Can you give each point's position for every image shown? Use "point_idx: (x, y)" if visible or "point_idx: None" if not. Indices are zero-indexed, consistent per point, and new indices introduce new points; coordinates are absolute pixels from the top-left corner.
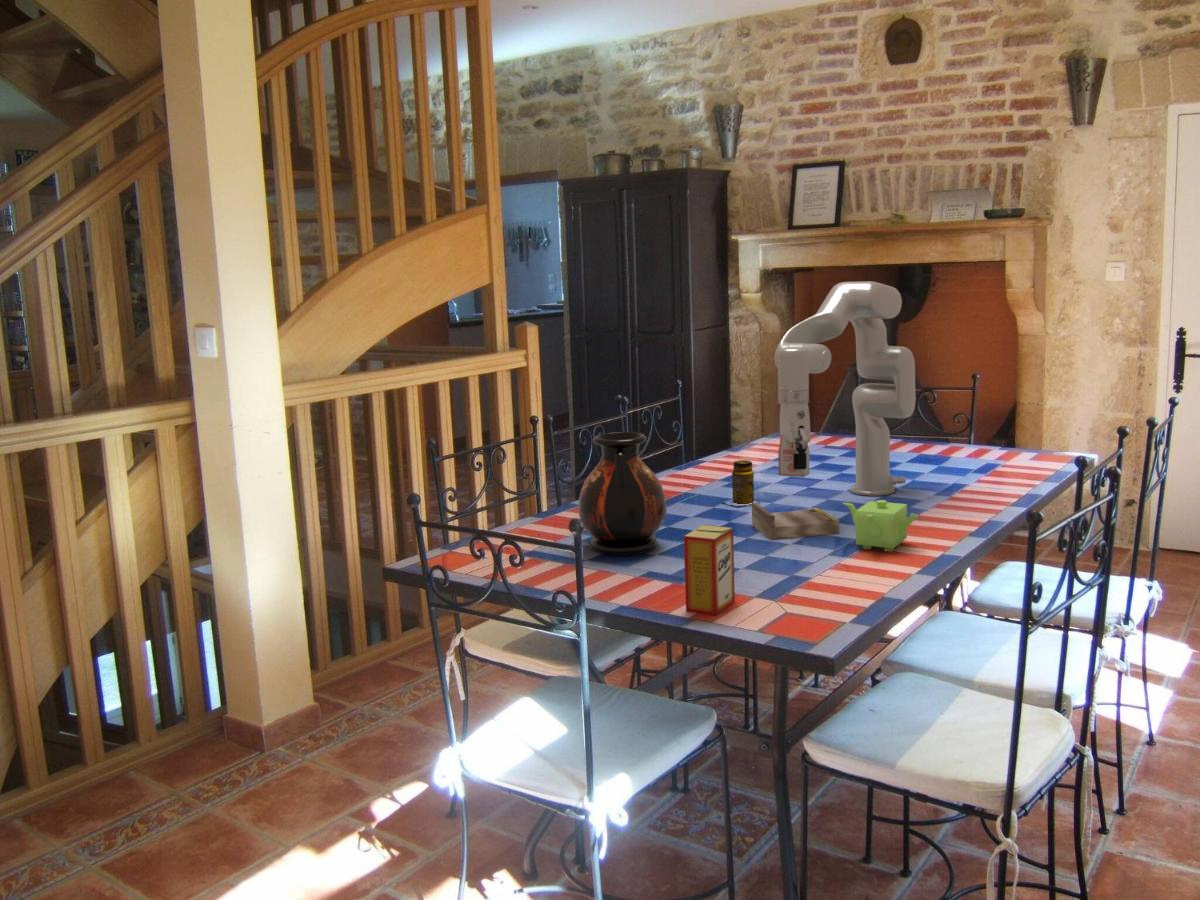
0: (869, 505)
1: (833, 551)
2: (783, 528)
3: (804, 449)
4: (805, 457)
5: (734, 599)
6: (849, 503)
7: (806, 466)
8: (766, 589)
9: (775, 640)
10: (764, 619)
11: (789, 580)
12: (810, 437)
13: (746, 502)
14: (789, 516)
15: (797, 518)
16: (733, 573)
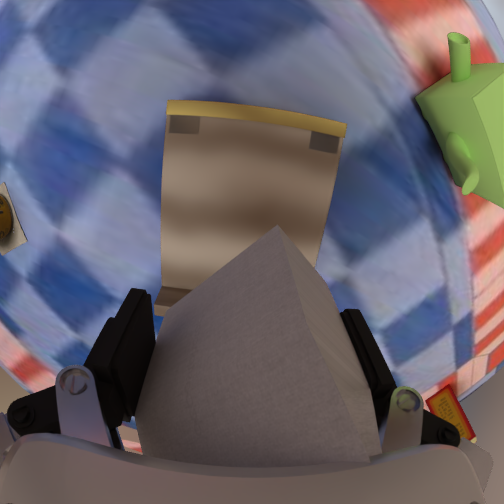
0: (499, 142)
1: (432, 223)
2: None
3: (430, 424)
4: (379, 362)
5: (449, 385)
6: (472, 176)
7: (317, 288)
8: (455, 359)
9: (498, 367)
10: (482, 369)
11: (459, 334)
12: (474, 471)
13: (9, 217)
14: (218, 220)
15: (251, 210)
16: (459, 403)
